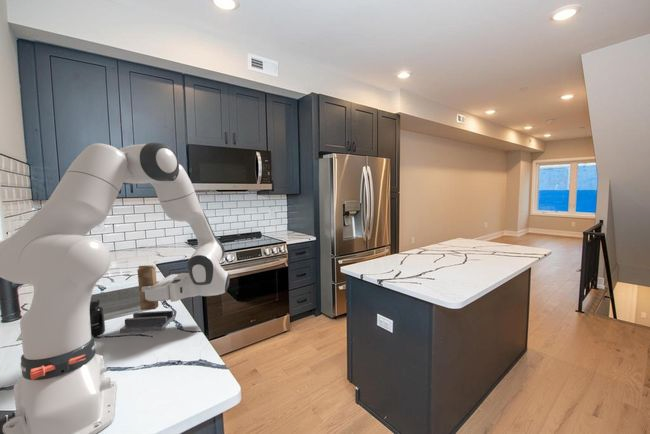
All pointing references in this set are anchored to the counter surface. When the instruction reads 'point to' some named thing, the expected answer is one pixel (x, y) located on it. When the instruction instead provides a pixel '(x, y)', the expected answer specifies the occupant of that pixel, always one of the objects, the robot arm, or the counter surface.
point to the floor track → (148, 321)
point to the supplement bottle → (96, 318)
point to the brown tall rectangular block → (146, 279)
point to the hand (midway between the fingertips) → (145, 287)
